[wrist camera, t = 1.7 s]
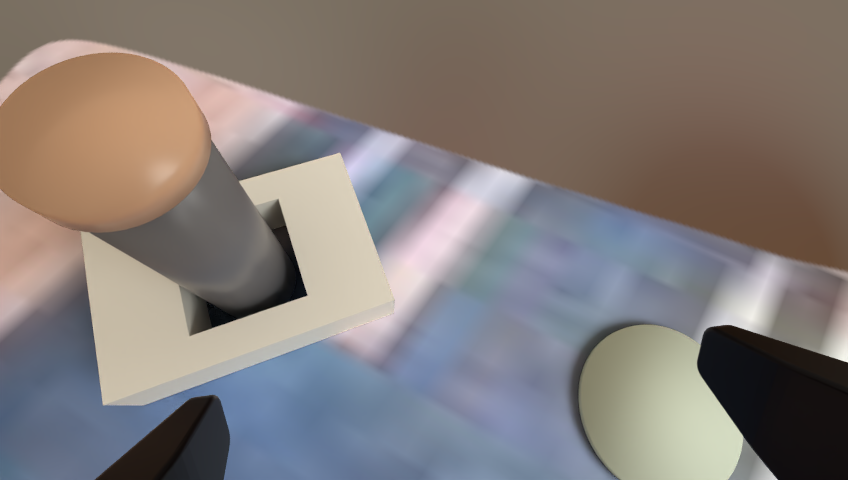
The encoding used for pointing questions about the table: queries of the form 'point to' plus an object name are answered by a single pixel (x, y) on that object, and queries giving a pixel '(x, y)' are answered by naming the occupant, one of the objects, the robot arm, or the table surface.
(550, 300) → the table surface
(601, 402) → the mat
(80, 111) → the plug
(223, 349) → the square frame
